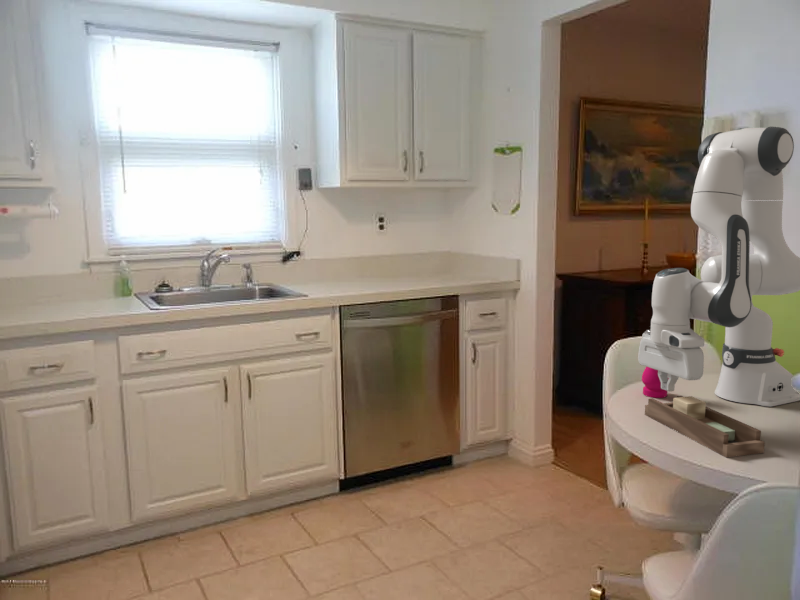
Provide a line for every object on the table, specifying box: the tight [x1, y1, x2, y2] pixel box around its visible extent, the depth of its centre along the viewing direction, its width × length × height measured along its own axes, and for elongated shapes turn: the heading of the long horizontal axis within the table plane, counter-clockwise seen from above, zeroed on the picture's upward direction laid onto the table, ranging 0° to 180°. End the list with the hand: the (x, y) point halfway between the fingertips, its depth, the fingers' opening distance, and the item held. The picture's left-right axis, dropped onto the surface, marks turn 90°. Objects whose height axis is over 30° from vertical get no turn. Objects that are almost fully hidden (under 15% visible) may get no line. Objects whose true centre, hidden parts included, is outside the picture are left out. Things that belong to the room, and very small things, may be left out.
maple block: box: [672, 395, 707, 420], centre depth 155 cm, size 5×5×4 cm
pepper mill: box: [641, 366, 669, 399], centre depth 179 cm, size 7×7×20 cm
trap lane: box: [644, 395, 766, 458], centre depth 151 cm, size 9×28×4 cm, turn 14°
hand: (667, 390), depth 161 cm, fingers closed
